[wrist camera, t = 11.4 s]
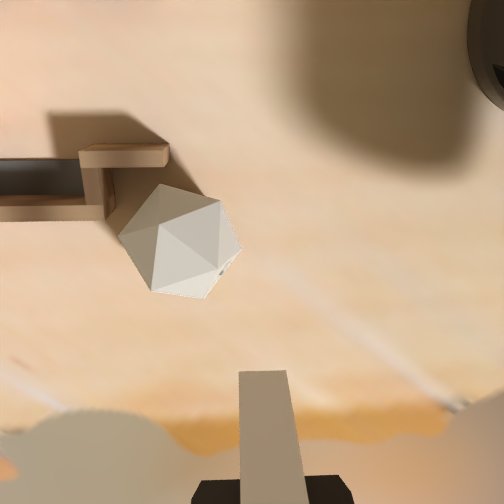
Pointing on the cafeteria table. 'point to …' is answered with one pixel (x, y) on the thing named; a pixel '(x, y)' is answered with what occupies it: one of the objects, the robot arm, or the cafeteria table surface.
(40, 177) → the trap lane
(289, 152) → the cafeteria table surface
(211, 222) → the die
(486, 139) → the cafeteria table surface
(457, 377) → the cafeteria table surface
